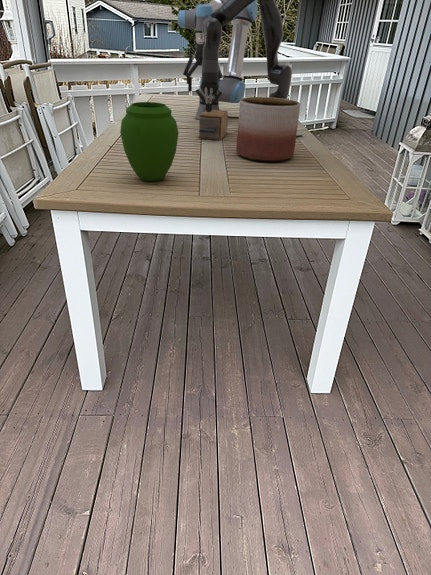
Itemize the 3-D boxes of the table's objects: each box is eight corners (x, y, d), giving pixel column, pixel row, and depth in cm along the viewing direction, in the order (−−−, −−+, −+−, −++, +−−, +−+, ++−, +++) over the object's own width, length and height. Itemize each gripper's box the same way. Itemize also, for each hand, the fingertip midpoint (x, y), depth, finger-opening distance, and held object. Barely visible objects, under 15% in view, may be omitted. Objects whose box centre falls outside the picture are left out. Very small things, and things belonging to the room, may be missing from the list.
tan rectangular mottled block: (220, 140, 203) (221, 116, 198) (199, 138, 205) (199, 114, 199) (226, 133, 217) (227, 110, 212) (206, 131, 219) (207, 109, 213)
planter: (301, 163, 172) (310, 106, 161) (242, 163, 168) (247, 105, 157) (283, 148, 194) (289, 97, 182) (230, 148, 189) (234, 96, 178)
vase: (131, 189, 135) (125, 110, 122) (118, 172, 150) (112, 100, 137) (186, 184, 142) (187, 109, 129) (169, 168, 157) (167, 99, 144)
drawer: (216, 141, 197) (217, 121, 192) (196, 139, 198) (197, 119, 193) (224, 132, 214) (225, 113, 209) (206, 130, 216) (206, 112, 211)
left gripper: (176, 42, 196) (176, 91, 207) (225, 45, 189) (223, 95, 200) (182, 42, 202) (182, 89, 213) (230, 45, 195) (228, 94, 206)
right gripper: (193, 70, 182) (193, 112, 191) (222, 72, 180) (220, 114, 189) (197, 69, 188) (197, 109, 198) (226, 71, 186) (223, 112, 196)
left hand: (202, 92), depth 207 cm, fingers open, 13 cm apart
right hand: (208, 112), depth 193 cm, fingers closed
